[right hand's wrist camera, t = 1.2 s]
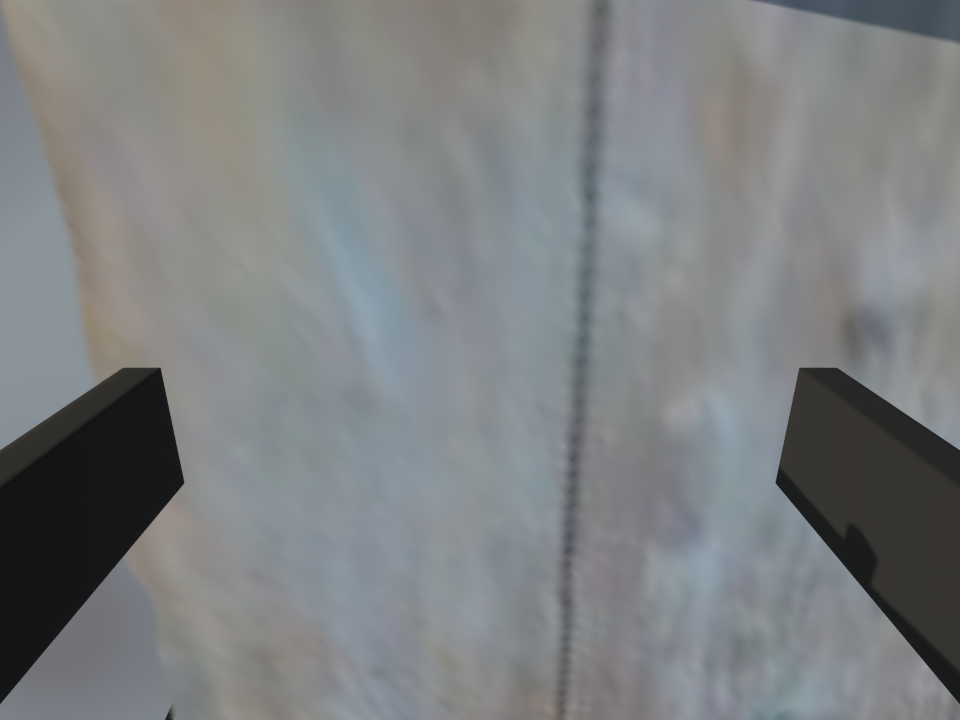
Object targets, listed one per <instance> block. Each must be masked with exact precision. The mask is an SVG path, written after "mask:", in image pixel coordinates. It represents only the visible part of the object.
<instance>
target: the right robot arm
mask: <svg viewBox="0 0 960 720" xmlns="http://www.w3.org/2000/svg"><path fill="white" fill-rule="evenodd" d="M183 484H184V479H183V474H182V469H181V464H180V459H179V455H178V450H177V445H176V440H175V435H174V431H173V426H172V421H171V416H170V411H169V406H168V402H167V397H166V392H165V387H164V382H163V378H162V373H161V368H122V369H121V370H119V371H118V372H116V373H115V374H113V375H112V376H110V377H109V378H107V379H106V380H104V381H103V382H101V383H100V384H98V385H97V386H95V387H94V388H92V389H91V390H89V391H88V392H86V393H85V394H83V395H82V396H81V397H79V398H77V399H76V400H74V401H73V402H71V403H70V404H69V405H67V406H66V407H64V408H63V409H61V410H60V411H58V412H57V413H55V414H54V415H52V416H51V417H49V418H48V419H46V420H45V421H43V422H42V423H40V424H39V425H37V426H36V427H34V428H33V429H31V430H30V431H28V432H27V433H25V434H24V435H22V436H21V437H19V438H18V439H16V440H15V441H13V442H12V443H10V444H9V445H7V446H6V447H4V448H3V449H2V450H0V704H1V702H2V701H3V700H4V699H5V698H6V696H7V695H8V694H9V693H10V692H11V690H12V689H13V688H14V687H15V686H16V684H17V683H18V682H19V681H20V680H21V678H22V677H23V676H24V675H25V674H26V672H27V671H28V670H29V669H30V668H31V666H32V665H33V664H34V663H35V662H36V660H37V659H38V658H39V657H40V656H41V654H42V653H43V652H44V651H45V650H46V648H47V647H48V646H49V645H50V644H51V642H52V641H53V640H54V639H55V638H56V636H57V635H58V634H59V633H60V632H61V630H62V629H63V628H64V627H65V626H66V624H67V623H68V622H69V621H70V620H71V618H72V617H73V616H74V615H75V614H76V612H77V611H78V610H79V609H80V608H81V606H82V605H83V604H84V603H85V602H86V600H87V599H88V598H89V597H90V596H91V594H92V593H93V592H94V591H95V590H96V588H97V587H98V586H99V585H100V584H101V582H102V581H103V580H104V579H105V578H106V576H107V575H108V574H109V573H110V572H111V570H112V569H113V568H114V567H115V566H116V564H117V563H118V562H119V561H120V560H121V559H122V557H123V556H124V555H125V554H126V553H127V551H128V550H129V549H130V548H131V547H132V545H133V544H134V543H135V542H136V541H137V539H138V538H139V537H140V536H141V535H142V533H143V532H144V531H145V530H146V529H147V527H148V526H149V525H150V524H151V523H152V521H153V520H154V519H155V518H156V517H157V515H158V514H159V513H160V512H161V511H162V509H163V508H164V507H165V506H166V505H167V503H168V502H169V501H170V500H171V499H172V497H173V496H174V495H175V494H176V493H177V491H178V490H179V489H180V488H181V487H182V485H183ZM776 484H777V485H778V487H779V488H780V489H781V490H782V491H783V493H784V494H785V495H786V496H787V497H788V499H789V500H790V501H791V502H792V503H793V505H794V506H795V507H796V508H797V509H798V511H799V512H800V513H801V514H802V515H803V517H804V518H805V519H806V520H807V521H808V523H809V524H810V525H811V526H812V527H813V529H814V530H815V531H816V532H817V533H818V535H819V536H820V537H821V538H822V539H823V541H824V542H825V543H826V544H827V545H828V547H829V548H830V549H831V550H832V551H833V553H834V554H835V555H836V556H837V557H838V559H839V560H840V561H841V562H842V563H843V565H844V566H845V567H846V568H847V569H848V571H849V572H850V573H851V574H852V575H853V577H854V578H855V579H856V580H857V581H858V583H859V584H860V585H861V586H862V587H863V588H864V590H865V591H866V592H867V593H868V594H869V596H870V597H871V598H872V599H873V600H874V602H875V603H876V604H877V605H878V606H879V608H880V609H881V610H882V611H883V612H884V614H885V615H886V616H887V617H888V618H889V620H890V621H891V622H892V623H893V624H894V626H895V627H896V628H897V629H898V630H899V632H900V633H901V634H902V635H903V636H904V638H905V639H906V640H907V641H908V642H909V644H910V645H911V646H912V647H913V648H914V650H915V651H916V652H917V653H918V654H919V656H920V657H921V658H922V659H923V660H924V662H925V663H926V664H927V665H928V666H929V668H930V669H931V670H932V671H933V672H934V674H935V675H936V676H937V677H938V678H939V680H940V681H941V682H942V683H943V684H944V686H945V687H946V688H947V689H948V690H949V692H950V693H951V694H952V695H953V696H954V698H955V699H956V700H957V701H958V702H959V704H960V450H959V449H957V448H956V447H954V446H953V445H951V444H950V443H948V442H947V441H945V440H944V439H942V438H941V437H939V436H938V435H936V434H935V433H933V432H932V431H930V430H929V429H927V428H926V427H924V426H923V425H921V424H920V423H918V422H917V421H915V420H914V419H912V418H911V417H909V416H908V415H906V414H905V413H903V412H902V411H900V410H899V409H897V408H896V407H894V406H893V405H891V404H890V403H889V402H887V401H886V400H884V399H883V398H881V397H880V396H878V395H877V394H875V393H874V392H872V391H871V390H869V389H868V388H866V387H865V386H863V385H862V384H860V383H859V382H857V381H856V380H854V379H853V378H851V377H850V376H848V375H847V374H845V373H844V372H842V371H841V370H839V369H838V368H799V373H798V378H797V382H796V387H795V392H794V397H793V402H792V406H791V411H790V416H789V421H788V426H787V430H786V435H785V440H784V445H783V450H782V455H781V459H780V464H779V469H778V474H777V479H776Z"/></svg>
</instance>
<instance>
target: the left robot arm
mask: <svg viewBox="0 0 960 720" xmlns="http://www.w3.org/2000/svg"><path fill="white" fill-rule="evenodd" d="M165 720H174V719H173V713H172V708H171V707H170V710H169V712H168V714H167V716H166V718H165Z"/></svg>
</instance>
